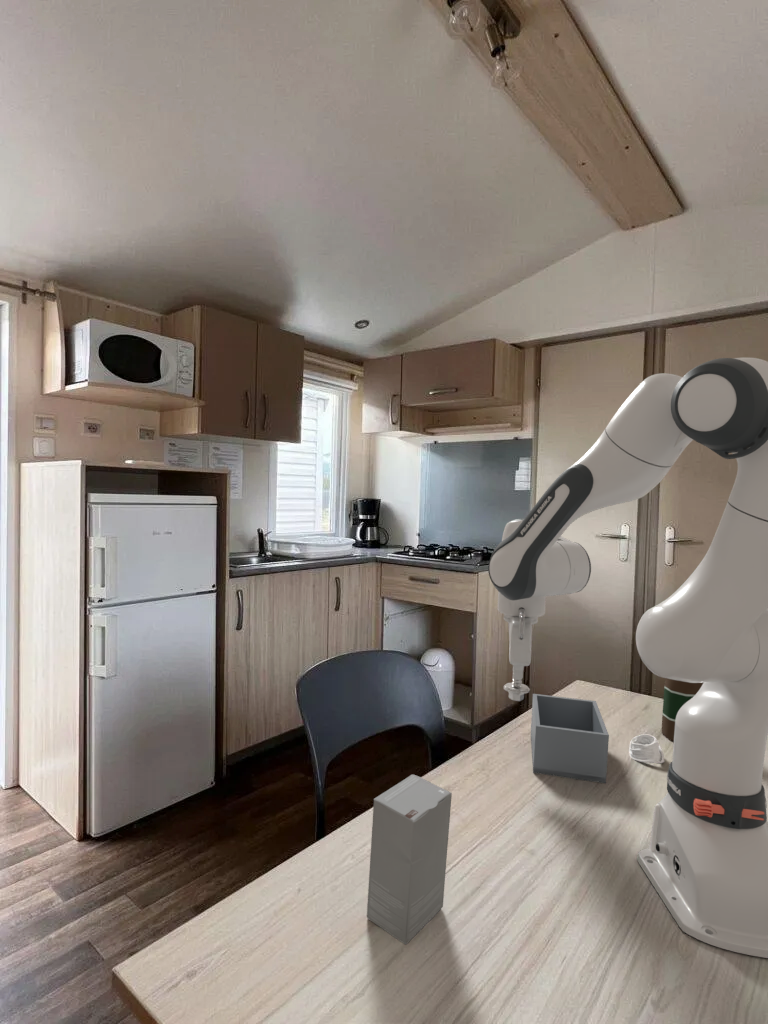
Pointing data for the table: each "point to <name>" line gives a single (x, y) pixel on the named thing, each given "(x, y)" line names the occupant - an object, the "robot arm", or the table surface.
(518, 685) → the screw
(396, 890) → the skincare box
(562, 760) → the tote
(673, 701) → the beer bottle
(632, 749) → the white crumpled ring
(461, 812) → the table surface
